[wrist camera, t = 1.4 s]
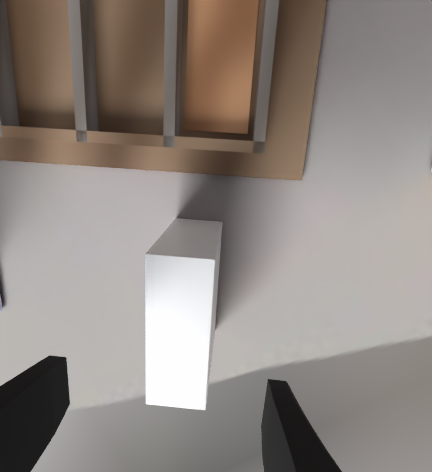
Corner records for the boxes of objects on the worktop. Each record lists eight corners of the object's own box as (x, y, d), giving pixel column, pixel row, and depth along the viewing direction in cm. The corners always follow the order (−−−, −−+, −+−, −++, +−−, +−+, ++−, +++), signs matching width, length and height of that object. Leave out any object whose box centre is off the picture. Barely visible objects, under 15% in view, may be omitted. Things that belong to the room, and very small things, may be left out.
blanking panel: (173, 326, 22) (145, 403, 15) (176, 218, 20) (145, 253, 13) (215, 330, 22) (205, 410, 15) (222, 221, 20) (215, 259, 13)
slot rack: (-18, 157, 20) (-47, 159, 18) (-60, -126, 16) (-104, -166, 14) (299, 179, 19) (307, 183, 17) (339, -117, 15) (356, -159, 13)
